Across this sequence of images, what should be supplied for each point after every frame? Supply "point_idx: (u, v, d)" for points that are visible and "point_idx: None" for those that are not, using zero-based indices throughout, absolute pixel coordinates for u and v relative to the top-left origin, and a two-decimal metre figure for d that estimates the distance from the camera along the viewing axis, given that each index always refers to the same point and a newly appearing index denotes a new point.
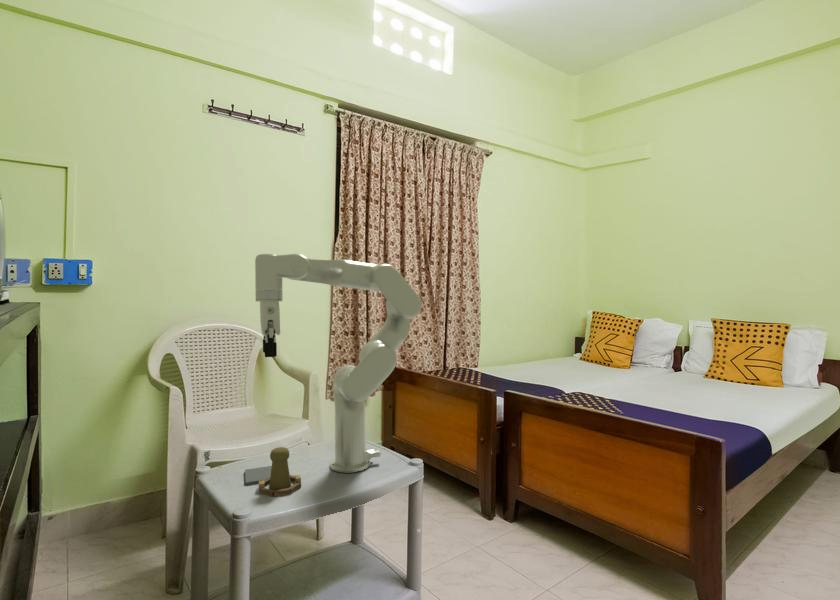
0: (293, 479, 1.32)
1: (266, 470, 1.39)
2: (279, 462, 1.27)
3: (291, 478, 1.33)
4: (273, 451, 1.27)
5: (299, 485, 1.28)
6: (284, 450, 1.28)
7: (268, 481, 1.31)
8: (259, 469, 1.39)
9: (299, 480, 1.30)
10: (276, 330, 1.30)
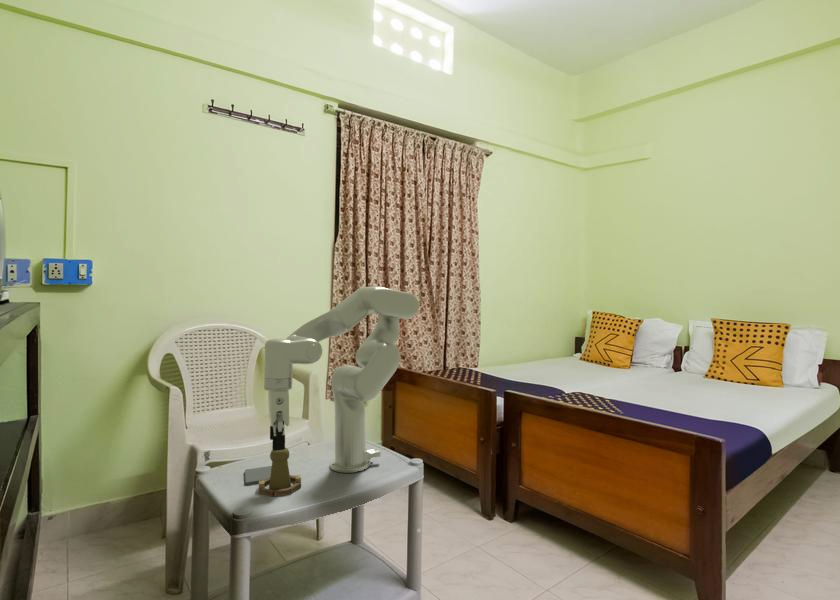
0: (293, 479, 1.32)
1: (266, 470, 1.39)
2: (279, 462, 1.27)
3: (291, 478, 1.33)
4: (273, 451, 1.27)
5: (299, 485, 1.28)
6: (284, 450, 1.28)
7: (268, 481, 1.31)
8: (259, 469, 1.39)
9: (299, 480, 1.30)
10: (285, 422, 1.24)
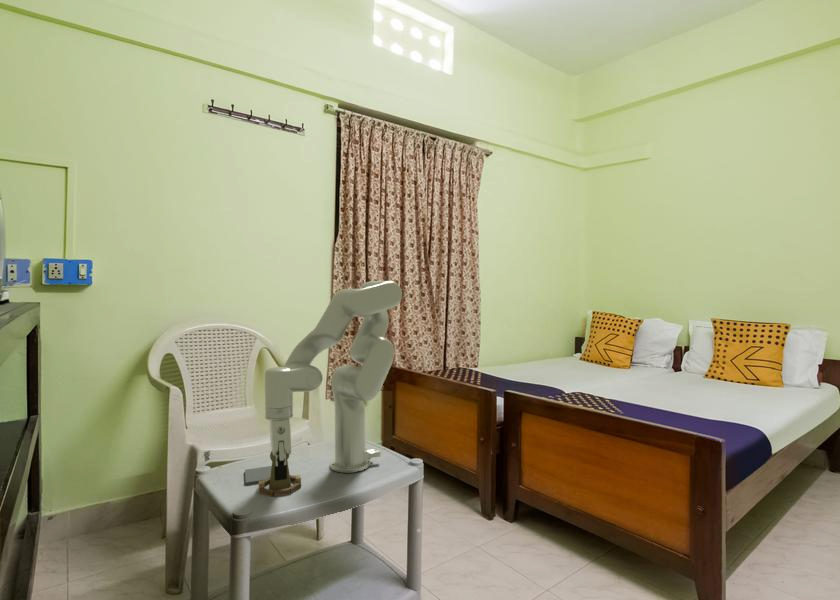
0: (293, 479, 1.32)
1: (266, 470, 1.39)
2: None
3: (291, 478, 1.33)
4: None
5: (299, 485, 1.28)
6: None
7: (268, 481, 1.31)
8: (259, 469, 1.39)
9: (299, 480, 1.30)
10: (287, 450, 1.24)
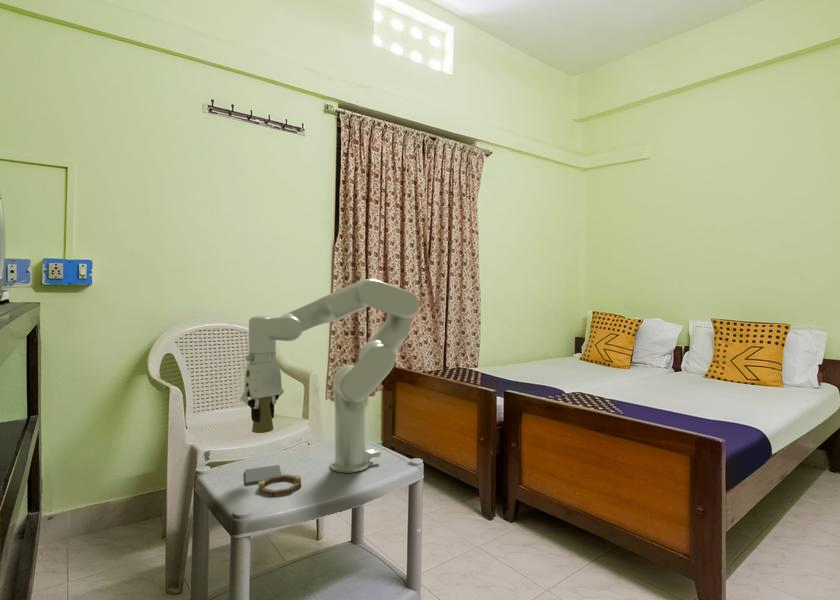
0: (293, 479, 1.32)
1: (266, 470, 1.39)
2: None
3: (291, 478, 1.33)
4: None
5: (299, 485, 1.28)
6: None
7: (268, 481, 1.31)
8: (259, 469, 1.39)
9: (299, 480, 1.30)
10: (250, 394, 1.30)
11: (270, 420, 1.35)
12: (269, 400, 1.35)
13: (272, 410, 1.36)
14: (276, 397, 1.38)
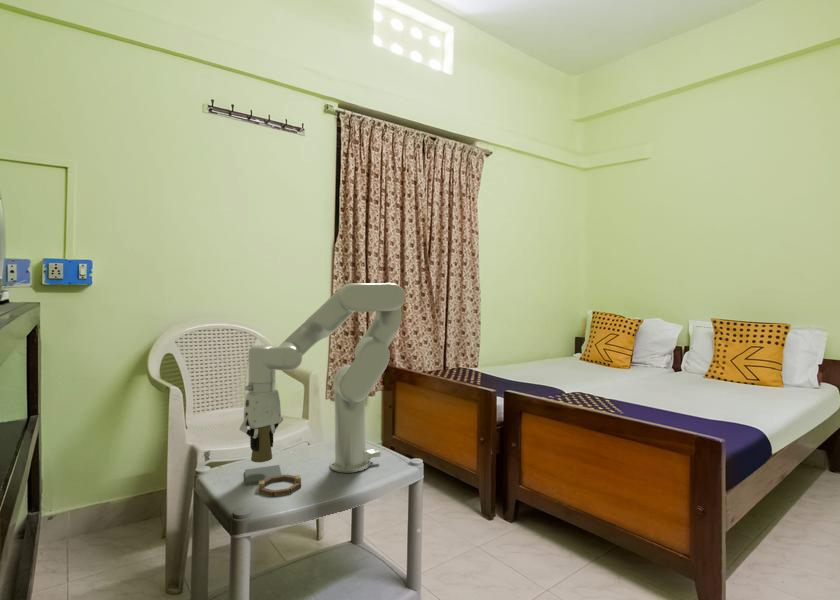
0: (293, 479, 1.32)
1: (266, 470, 1.39)
2: None
3: (291, 478, 1.33)
4: None
5: (299, 485, 1.28)
6: None
7: (268, 481, 1.31)
8: (259, 469, 1.39)
9: (299, 480, 1.30)
10: (249, 424, 1.31)
11: (269, 449, 1.36)
12: (268, 429, 1.35)
13: (271, 439, 1.37)
14: (275, 425, 1.39)
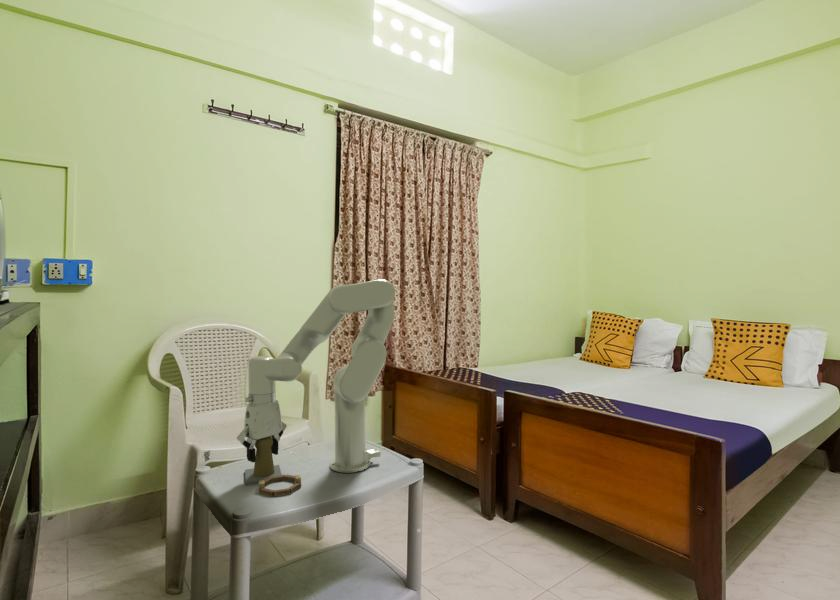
0: (293, 479, 1.32)
1: None
2: (257, 449, 1.35)
3: (291, 478, 1.33)
4: None
5: (299, 485, 1.28)
6: (262, 439, 1.35)
7: (268, 481, 1.31)
8: None
9: (299, 480, 1.30)
10: (250, 435, 1.31)
11: (271, 463, 1.36)
12: (270, 444, 1.35)
13: (276, 446, 1.38)
14: (280, 433, 1.40)
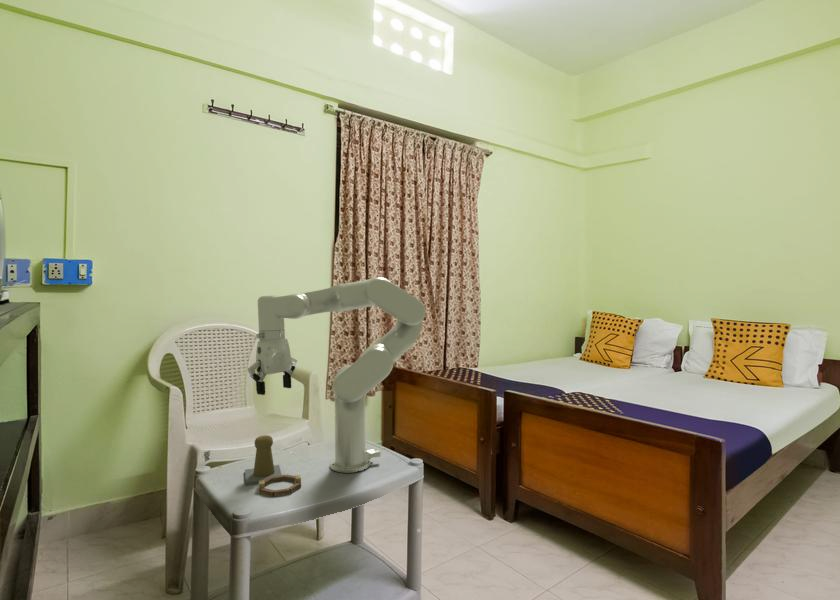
0: (293, 479, 1.32)
1: None
2: (257, 449, 1.35)
3: (291, 478, 1.33)
4: (258, 437, 1.37)
5: (299, 485, 1.28)
6: (262, 439, 1.35)
7: (268, 481, 1.31)
8: None
9: (299, 480, 1.30)
10: (262, 370, 1.36)
11: (271, 463, 1.36)
12: (270, 444, 1.35)
13: (289, 380, 1.44)
14: (292, 368, 1.46)
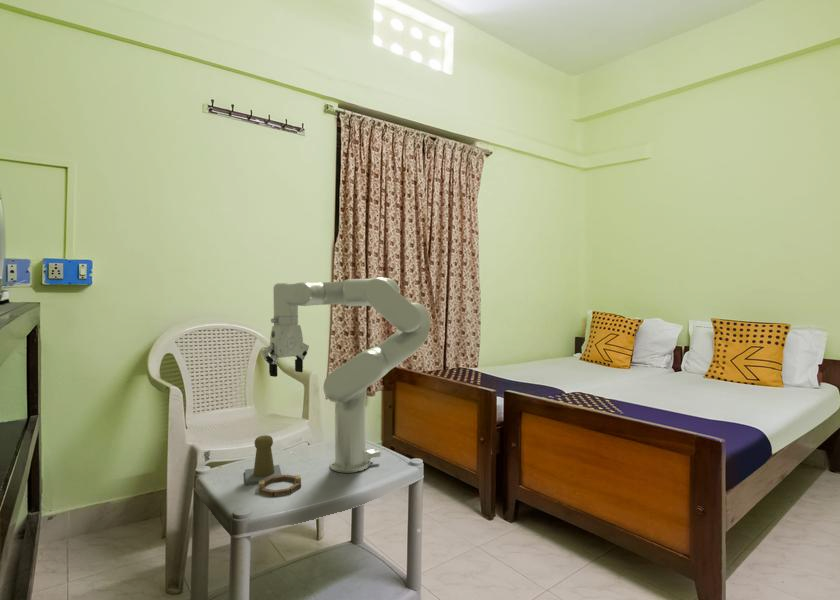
0: (293, 479, 1.32)
1: None
2: (257, 449, 1.35)
3: (291, 478, 1.33)
4: (258, 437, 1.37)
5: (299, 485, 1.28)
6: (262, 439, 1.35)
7: (268, 481, 1.31)
8: None
9: (299, 480, 1.30)
10: (275, 353, 1.43)
11: (271, 463, 1.36)
12: (270, 444, 1.35)
13: (301, 364, 1.51)
14: (304, 353, 1.53)
